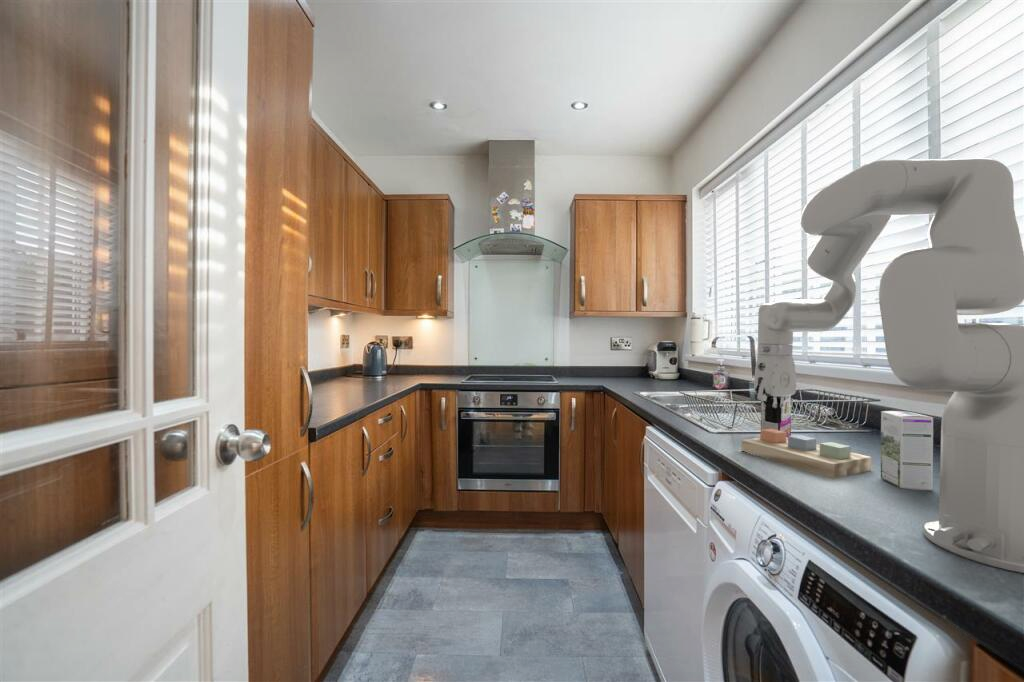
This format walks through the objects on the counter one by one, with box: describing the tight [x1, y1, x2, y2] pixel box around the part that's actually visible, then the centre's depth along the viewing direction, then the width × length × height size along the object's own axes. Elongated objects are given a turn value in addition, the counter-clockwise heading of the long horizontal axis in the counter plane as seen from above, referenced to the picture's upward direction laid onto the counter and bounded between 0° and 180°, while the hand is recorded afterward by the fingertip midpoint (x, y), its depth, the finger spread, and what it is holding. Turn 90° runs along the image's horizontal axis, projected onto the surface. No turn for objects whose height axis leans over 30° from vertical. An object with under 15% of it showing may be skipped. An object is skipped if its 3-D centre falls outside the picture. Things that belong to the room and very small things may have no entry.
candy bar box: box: [760, 395, 792, 438], centre depth 115 cm, size 11×5×16 cm, turn 131°
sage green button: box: [819, 441, 852, 460], centre depth 89 cm, size 4×4×3 cm
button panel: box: [741, 437, 873, 479], centre depth 96 cm, size 14×21×3 cm, turn 23°
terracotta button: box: [759, 429, 786, 444], centre depth 102 cm, size 4×4×3 cm
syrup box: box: [880, 410, 934, 491], centre depth 80 cm, size 6×6×14 cm
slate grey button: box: [788, 434, 817, 451], centre depth 96 cm, size 4×4×3 cm
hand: (772, 422), depth 102 cm, fingers closed
